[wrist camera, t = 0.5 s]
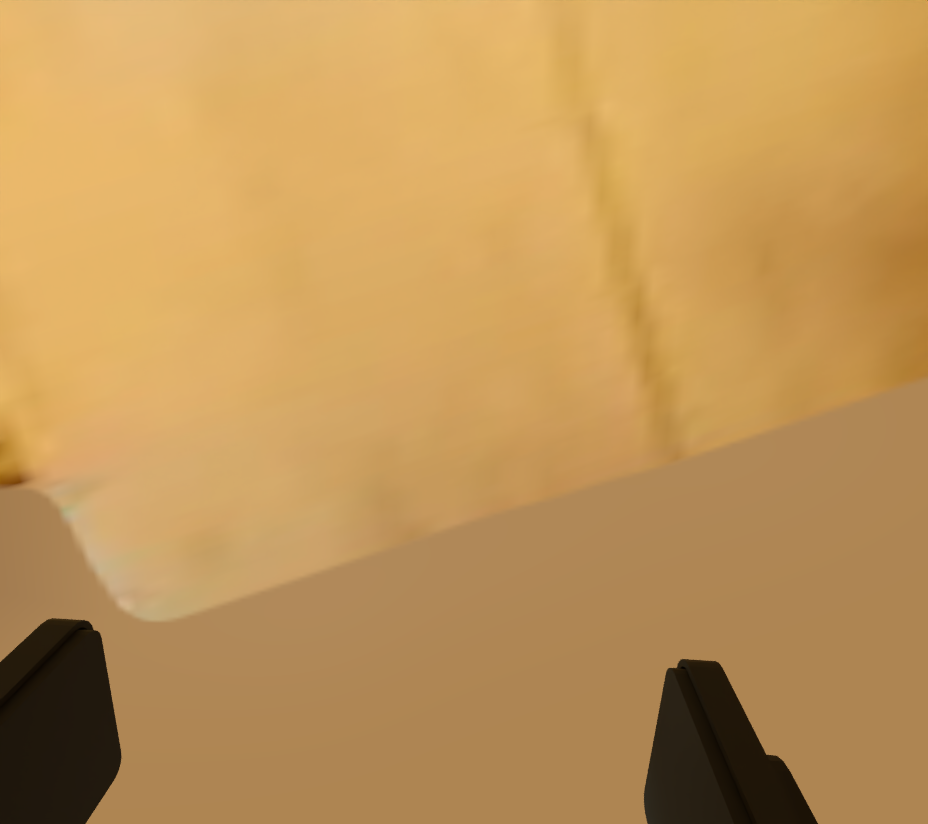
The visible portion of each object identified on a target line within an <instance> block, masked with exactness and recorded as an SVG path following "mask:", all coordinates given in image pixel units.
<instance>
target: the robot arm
mask: <svg viewBox="0 0 928 824" xmlns="http://www.w3.org/2000/svg"><path fill="white" fill-rule="evenodd" d="M120 763H121V749H120V743H119V737H118V732H117V725H116V720H115V714H114V708H113V702H112V697H111V690H110V684H109V679H108V673H107V667H106V661H105V655H104V649H103V644H102V638H101V635H100V633H99V632H98V631H94V630H93V627H92V625H91V624H90V623H89V622H88V621H85V620H69V619H53V618H52V619H49V620H46V621H45V622H44V623H42V624H41V625H40V626H39V627H38V628H37V629H36V630H34V631H33V632H32V633H31V634H30V635H29V636H28V637H27V638H26V639H25V640H24V641H23V642H22V643H20V644H19V645H18V646H17V647H16V648H15V649H14V650H13V651H12V652H11V653H10V654H9V655H8V656H6V657H5V658H4V659H3V660H2V661H1V662H0V824H85V823H86V822H87V820H88V819H89V817H90V816H91V814H92V813H93V811H94V810H95V808H96V807H97V805H98V803H99V802H100V801H101V799H102V798H103V796H104V795H105V793H106V792H107V790H108V788H109V787H110V785H111V784H112V782H113V781H114V779H115V777H116V775H117V773H118V770H119V767H120ZM644 805H645V806H644V807H645V814H646V818H647V823H648V824H818V823H817V821H816V819H815V817H814V815H813V814H812V812H811V810H810V808H809V806H808V804H807V802H806V800H805V799H804V797H803V795H802V793H801V791H800V789H799V787H798V785H797V784H796V782H795V780H794V778H793V776H792V774H791V772H790V771H789V769H788V768H787V766H786V765H785V763H784V762H783V761H782V760H781V759H780V758H779V757H777V756H773V755H766V753H765V751H764V749H763V747H762V745H761V743H760V742H759V739H758V738H757V736H756V734H755V732H754V729H753V728H752V726H751V724H750V722H749V720H748V718H747V716H746V714H745V712H744V710H743V708H742V706H741V704H740V702H739V700H738V698H737V696H736V694H735V692H734V690H733V688H732V686H731V684H730V682H729V680H728V678H727V676H726V674H725V672H724V670H723V668H722V667H721V665H720V664H719V663H718V662H716V661H702V660H688V659H682V660H680V661H679V663H678V666H677V668H669V669H668V670H667V672H666V676H665V682H664V687H663V693H662V698H661V703H660V709H659V714H658V720H657V725H656V731H655V736H654V741H653V747H652V753H651V758H650V763H649V769H648V774H647V779H646V785H645V791H644Z"/></svg>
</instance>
